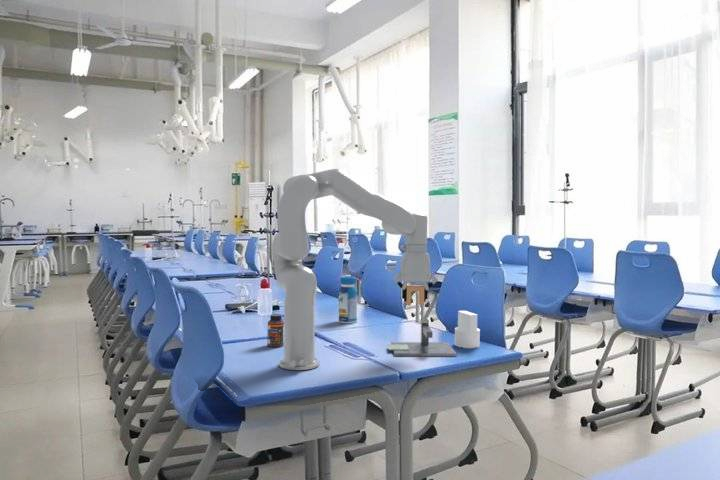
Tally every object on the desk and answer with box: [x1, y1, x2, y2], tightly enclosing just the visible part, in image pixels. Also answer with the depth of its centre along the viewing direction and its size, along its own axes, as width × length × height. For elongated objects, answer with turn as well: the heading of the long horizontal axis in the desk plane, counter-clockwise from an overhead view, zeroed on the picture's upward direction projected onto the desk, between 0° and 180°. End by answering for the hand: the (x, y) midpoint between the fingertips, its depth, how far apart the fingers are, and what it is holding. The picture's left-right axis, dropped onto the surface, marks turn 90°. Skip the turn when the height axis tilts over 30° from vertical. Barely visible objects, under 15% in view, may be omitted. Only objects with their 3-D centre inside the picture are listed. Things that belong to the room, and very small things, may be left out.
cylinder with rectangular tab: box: [454, 310, 481, 349], centre depth 202 cm, size 9×9×12 cm
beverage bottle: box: [337, 275, 358, 324], centre depth 244 cm, size 8×8×20 cm
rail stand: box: [387, 321, 457, 357], centre depth 194 cm, size 16×22×9 cm
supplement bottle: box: [266, 313, 284, 348], centre depth 200 cm, size 6×6×11 cm
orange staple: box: [405, 284, 425, 307], centre depth 191 cm, size 4×6×7 cm, turn 90°
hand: (414, 300), depth 191 cm, fingers closed on orange staple, 6 cm apart
